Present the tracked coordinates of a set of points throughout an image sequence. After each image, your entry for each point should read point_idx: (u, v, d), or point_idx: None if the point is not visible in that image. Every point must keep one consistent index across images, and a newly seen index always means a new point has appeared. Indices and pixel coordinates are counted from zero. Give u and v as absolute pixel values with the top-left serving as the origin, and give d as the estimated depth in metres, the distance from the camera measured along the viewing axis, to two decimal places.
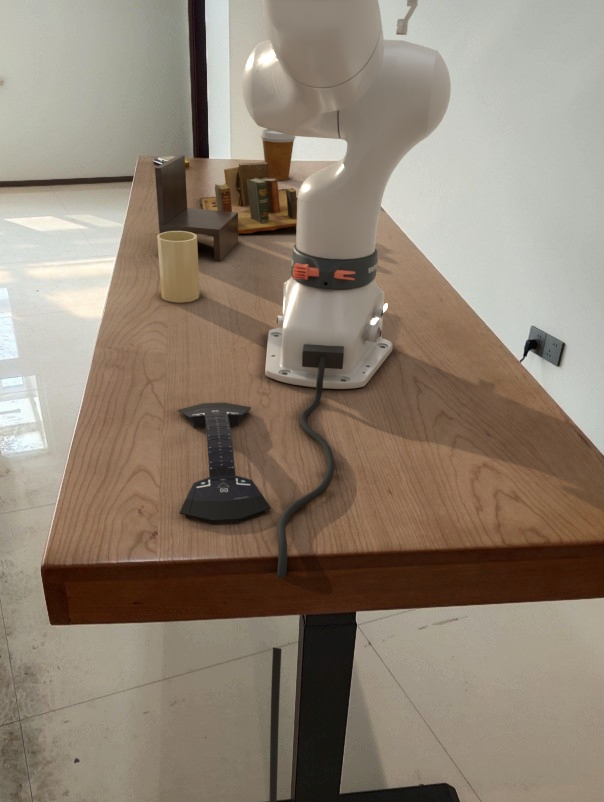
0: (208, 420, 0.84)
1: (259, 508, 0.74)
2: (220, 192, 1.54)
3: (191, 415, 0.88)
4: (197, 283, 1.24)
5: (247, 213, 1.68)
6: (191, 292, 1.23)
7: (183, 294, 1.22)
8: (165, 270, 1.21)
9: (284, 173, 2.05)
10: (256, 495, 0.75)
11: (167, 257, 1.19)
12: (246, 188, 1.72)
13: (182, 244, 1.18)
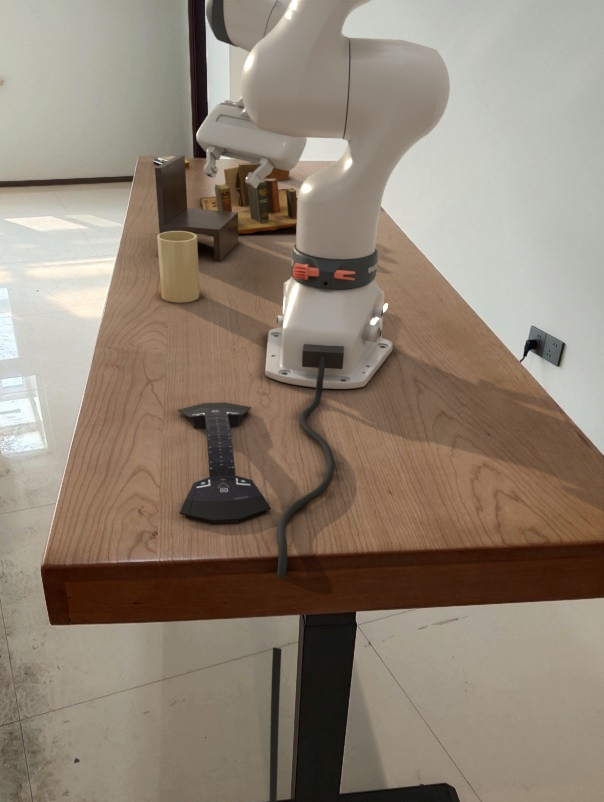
0: (208, 420, 0.84)
1: (259, 508, 0.74)
2: (220, 192, 1.54)
3: (191, 415, 0.88)
4: (197, 283, 1.24)
5: (247, 213, 1.68)
6: (191, 292, 1.23)
7: (183, 294, 1.22)
8: (165, 270, 1.21)
9: (284, 173, 2.05)
10: (256, 495, 0.75)
11: (167, 257, 1.19)
12: (246, 188, 1.72)
13: (182, 244, 1.18)
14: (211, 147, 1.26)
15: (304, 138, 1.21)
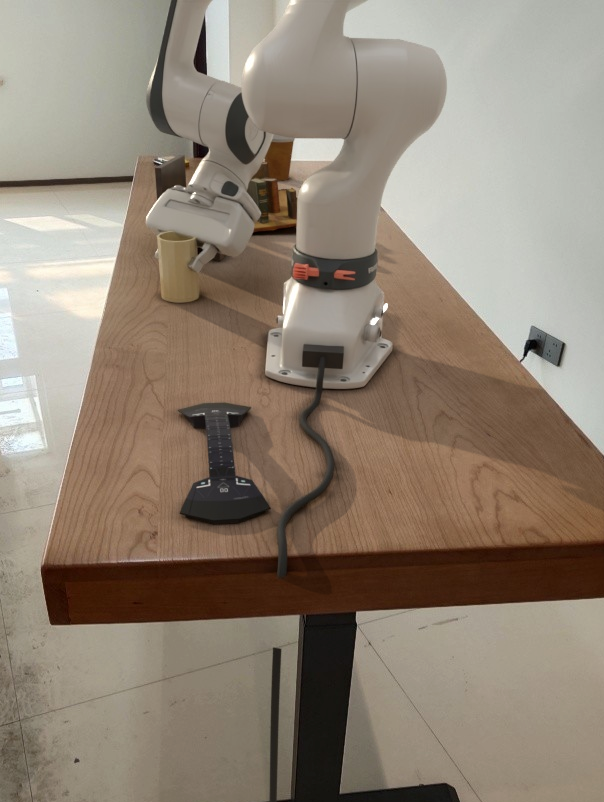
0: (208, 420, 0.84)
1: (259, 508, 0.74)
2: None
3: (191, 415, 0.88)
4: (197, 283, 1.24)
5: None
6: (191, 292, 1.23)
7: (183, 294, 1.22)
8: (165, 270, 1.21)
9: (284, 173, 2.05)
10: (256, 495, 0.75)
11: (167, 257, 1.19)
12: None
13: (182, 244, 1.18)
14: None
15: (251, 225, 1.19)
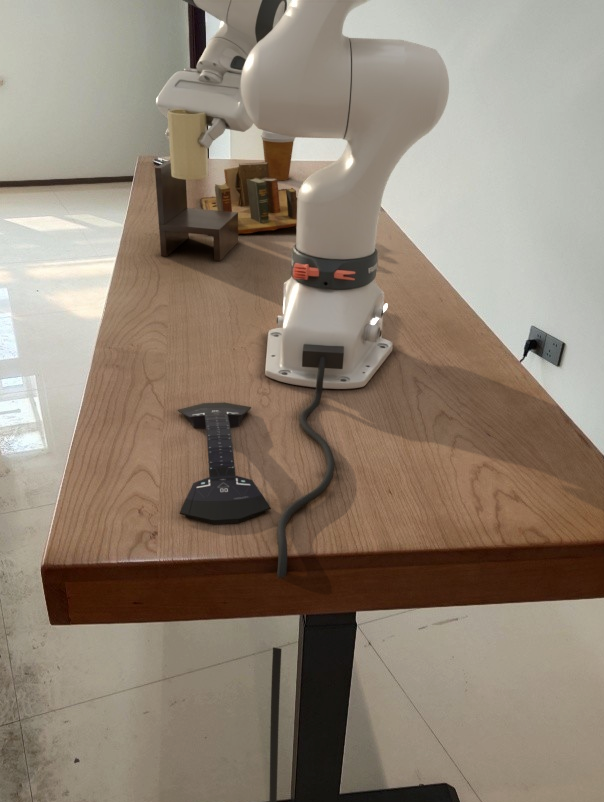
0: (208, 420, 0.84)
1: (259, 508, 0.74)
2: (220, 192, 1.54)
3: (191, 415, 0.88)
4: (206, 161, 1.27)
5: (247, 213, 1.68)
6: (201, 169, 1.26)
7: (193, 171, 1.26)
8: (175, 146, 1.24)
9: (284, 173, 2.05)
10: (256, 495, 0.75)
11: (177, 131, 1.22)
12: (246, 188, 1.72)
13: (192, 117, 1.21)
14: None
15: None
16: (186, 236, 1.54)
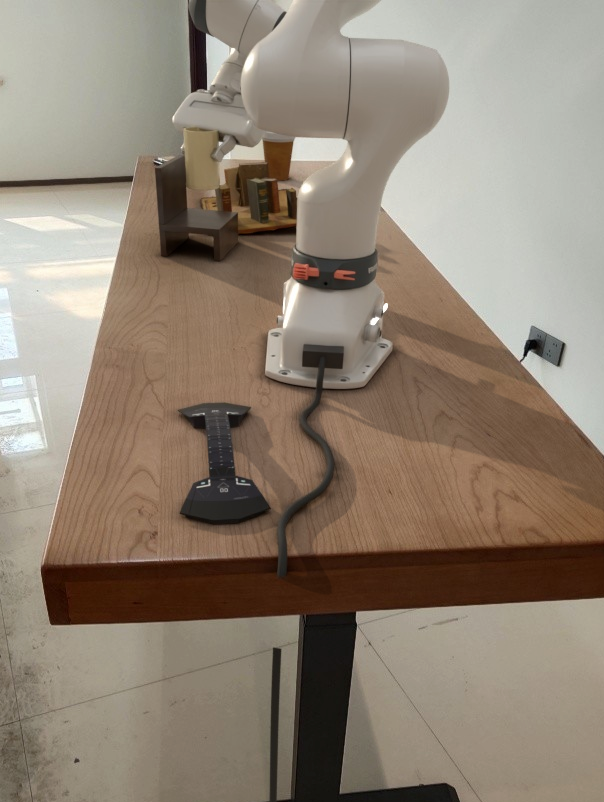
0: (208, 420, 0.84)
1: (259, 508, 0.74)
2: (220, 192, 1.54)
3: (191, 415, 0.88)
4: (218, 173, 1.40)
5: (247, 213, 1.68)
6: (213, 181, 1.39)
7: (206, 182, 1.39)
8: (190, 160, 1.37)
9: (284, 173, 2.05)
10: (256, 495, 0.75)
11: (192, 147, 1.35)
12: (246, 188, 1.72)
13: (206, 134, 1.34)
14: None
15: None
16: (186, 236, 1.54)
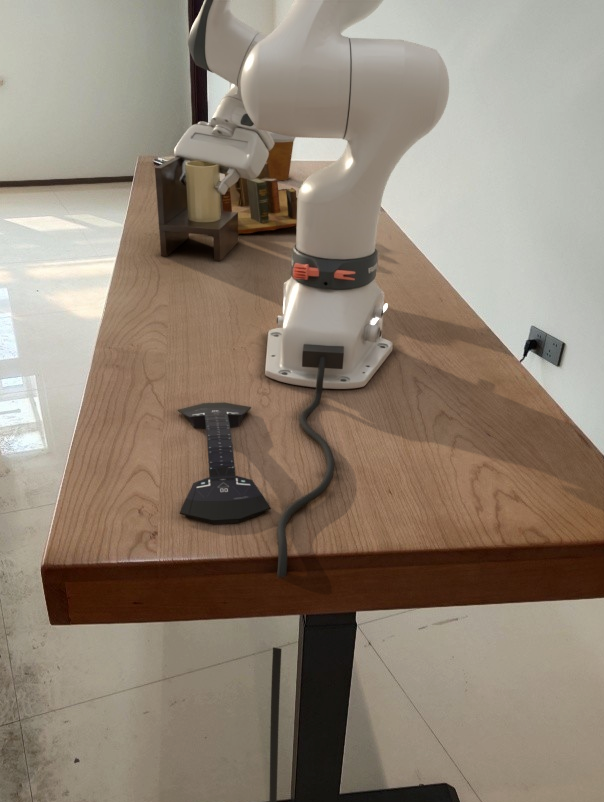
0: (208, 420, 0.84)
1: (259, 508, 0.74)
2: None
3: (191, 415, 0.88)
4: (219, 206, 1.43)
5: (247, 213, 1.68)
6: (214, 213, 1.43)
7: (207, 215, 1.42)
8: (192, 193, 1.40)
9: (284, 173, 2.05)
10: (256, 495, 0.75)
11: (194, 181, 1.39)
12: (246, 188, 1.72)
13: (207, 169, 1.38)
14: (186, 160, 1.44)
15: (266, 152, 1.39)
16: (186, 236, 1.54)
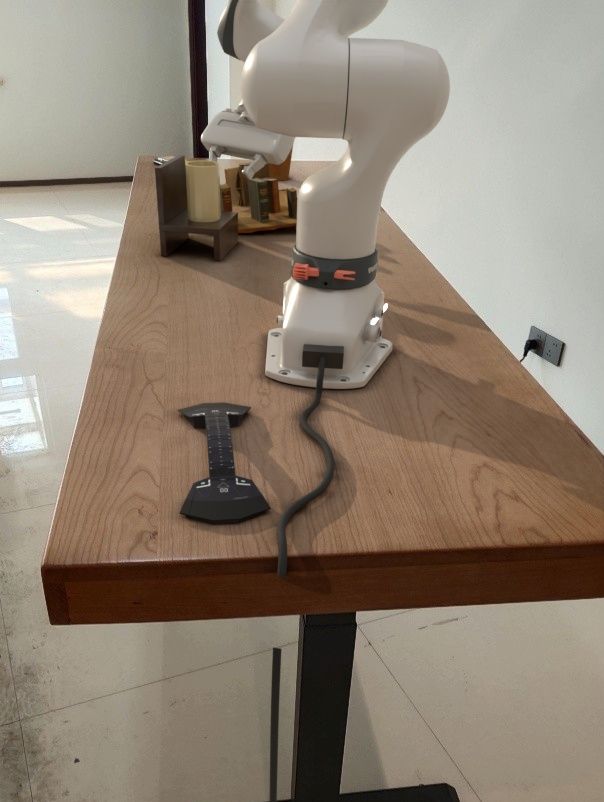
0: (208, 420, 0.84)
1: (259, 508, 0.74)
2: (221, 191, 1.54)
3: (191, 415, 0.88)
4: (219, 206, 1.43)
5: (247, 213, 1.68)
6: (214, 213, 1.43)
7: (207, 215, 1.42)
8: (192, 193, 1.40)
9: (284, 173, 2.05)
10: (256, 495, 0.75)
11: (194, 181, 1.39)
12: (246, 188, 1.72)
13: (207, 169, 1.38)
14: (213, 146, 1.48)
15: (292, 138, 1.43)
16: (186, 236, 1.54)
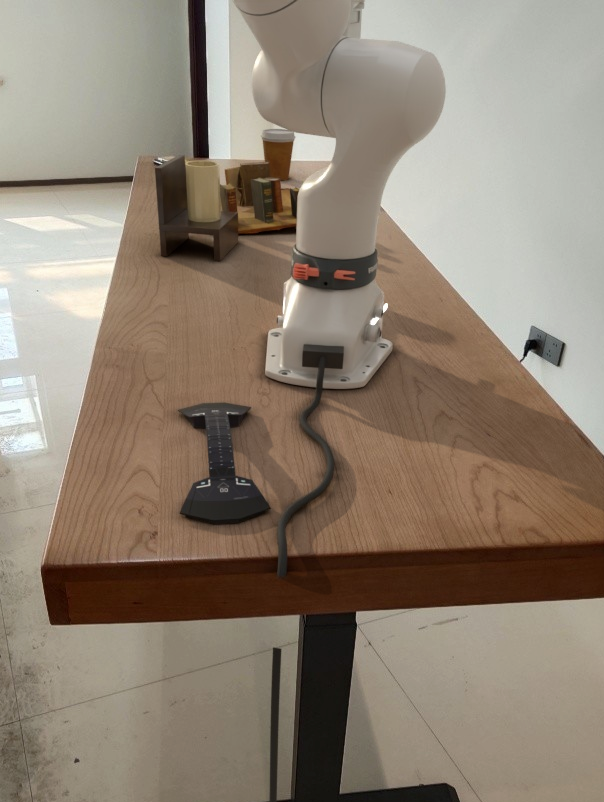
0: (208, 420, 0.84)
1: (259, 508, 0.74)
2: (226, 192, 1.54)
3: (191, 415, 0.88)
4: (219, 206, 1.43)
5: (250, 213, 1.69)
6: (214, 213, 1.43)
7: (207, 215, 1.42)
8: (192, 193, 1.40)
9: (284, 173, 2.05)
10: (256, 495, 0.75)
11: (194, 181, 1.39)
12: (248, 188, 1.72)
13: (207, 169, 1.38)
14: None
15: None
16: (186, 236, 1.54)
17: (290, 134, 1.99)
